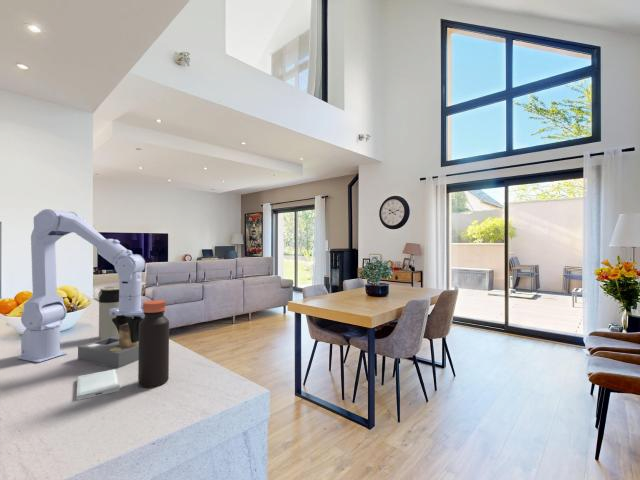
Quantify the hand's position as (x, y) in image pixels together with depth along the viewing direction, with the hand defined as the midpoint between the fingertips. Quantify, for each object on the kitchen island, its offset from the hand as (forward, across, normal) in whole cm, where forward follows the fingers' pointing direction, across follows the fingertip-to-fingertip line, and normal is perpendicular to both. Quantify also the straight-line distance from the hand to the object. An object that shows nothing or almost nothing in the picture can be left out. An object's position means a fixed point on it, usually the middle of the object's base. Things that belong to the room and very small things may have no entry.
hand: (129, 341), depth 97 cm
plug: (+3, 0, 0) cm, 3 cm away
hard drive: (+6, +8, -16) cm, 19 cm away
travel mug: (+5, -24, +13) cm, 27 cm away
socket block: (+5, -4, 0) cm, 7 cm away
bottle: (+5, +20, -10) cm, 23 cm away
